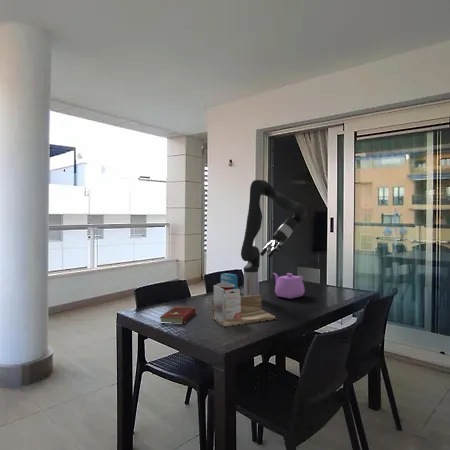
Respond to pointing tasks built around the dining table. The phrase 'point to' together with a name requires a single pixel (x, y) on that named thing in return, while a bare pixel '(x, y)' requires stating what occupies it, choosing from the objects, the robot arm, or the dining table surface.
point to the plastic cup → (226, 286)
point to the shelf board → (247, 312)
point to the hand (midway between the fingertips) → (264, 255)
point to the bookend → (219, 303)
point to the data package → (229, 279)
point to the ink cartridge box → (232, 304)
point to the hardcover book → (178, 314)
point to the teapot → (289, 286)
